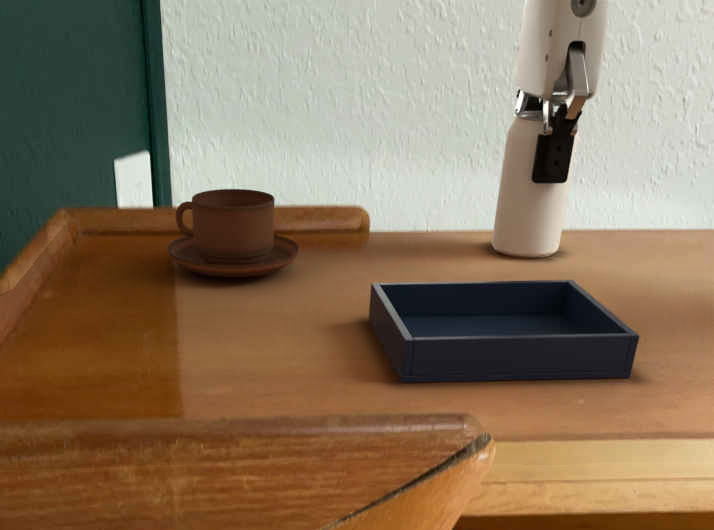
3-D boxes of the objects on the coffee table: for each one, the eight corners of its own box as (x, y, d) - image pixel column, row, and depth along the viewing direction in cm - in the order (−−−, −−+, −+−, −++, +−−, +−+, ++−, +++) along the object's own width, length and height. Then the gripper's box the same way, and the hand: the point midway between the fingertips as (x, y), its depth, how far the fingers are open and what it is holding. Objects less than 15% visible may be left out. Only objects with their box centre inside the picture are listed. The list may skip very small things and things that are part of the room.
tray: (565, 317, 78) (572, 279, 76) (630, 377, 67) (640, 335, 65) (368, 320, 76) (371, 282, 75) (401, 383, 66) (405, 340, 64)
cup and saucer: (153, 283, 84) (149, 209, 81) (186, 248, 94) (183, 181, 91) (287, 291, 83) (289, 216, 79) (307, 255, 92) (309, 186, 89)
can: (489, 256, 93) (508, 118, 86) (492, 240, 98) (510, 108, 91) (558, 261, 91) (583, 121, 84) (557, 244, 96) (581, 111, 90)
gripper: (659, -55, 74) (609, 194, 84) (579, -55, 88) (545, 157, 98) (563, -56, 73) (525, 195, 83) (499, -56, 87) (473, 158, 97)
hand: (536, 173), depth 90 cm, fingers closed on can, 6 cm apart
